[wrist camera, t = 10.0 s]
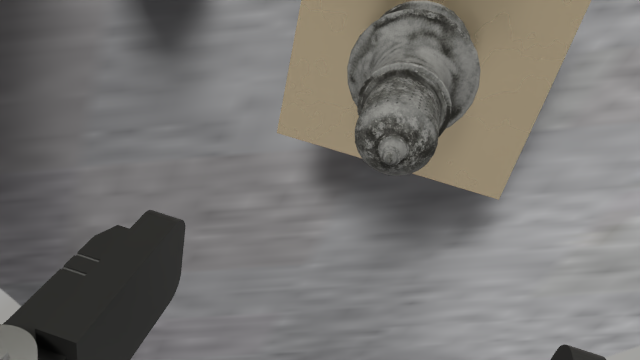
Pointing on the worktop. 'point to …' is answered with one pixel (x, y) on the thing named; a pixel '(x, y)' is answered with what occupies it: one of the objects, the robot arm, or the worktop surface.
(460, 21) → the stone finial
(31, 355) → the robot arm
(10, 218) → the worktop surface
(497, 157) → the stand
